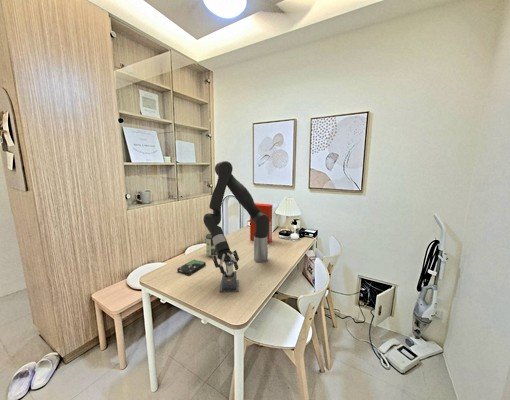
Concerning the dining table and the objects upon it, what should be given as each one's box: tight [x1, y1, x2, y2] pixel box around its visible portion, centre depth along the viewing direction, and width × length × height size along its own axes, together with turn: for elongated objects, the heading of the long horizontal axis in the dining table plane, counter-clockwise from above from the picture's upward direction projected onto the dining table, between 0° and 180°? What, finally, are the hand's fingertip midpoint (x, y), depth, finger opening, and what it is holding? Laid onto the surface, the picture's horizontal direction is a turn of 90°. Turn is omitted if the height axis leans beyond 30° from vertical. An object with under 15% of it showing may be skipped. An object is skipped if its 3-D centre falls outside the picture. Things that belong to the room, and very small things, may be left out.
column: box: [224, 260, 234, 277], centre depth 113 cm, size 5×5×13 cm
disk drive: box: [177, 259, 207, 277], centre depth 134 cm, size 10×3×15 cm
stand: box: [219, 270, 240, 294], centre depth 114 cm, size 10×10×7 cm
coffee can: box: [205, 233, 217, 257], centre depth 156 cm, size 10×10×14 cm
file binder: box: [249, 202, 273, 244], centre depth 182 cm, size 8×17×32 cm, turn 67°
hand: (230, 271), depth 112 cm, fingers open, 7 cm apart
